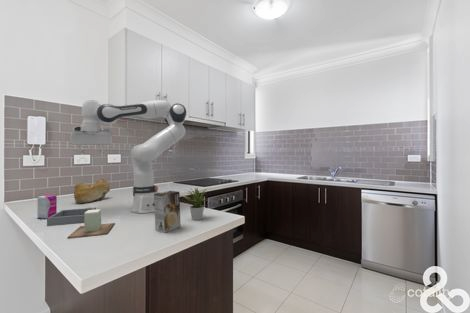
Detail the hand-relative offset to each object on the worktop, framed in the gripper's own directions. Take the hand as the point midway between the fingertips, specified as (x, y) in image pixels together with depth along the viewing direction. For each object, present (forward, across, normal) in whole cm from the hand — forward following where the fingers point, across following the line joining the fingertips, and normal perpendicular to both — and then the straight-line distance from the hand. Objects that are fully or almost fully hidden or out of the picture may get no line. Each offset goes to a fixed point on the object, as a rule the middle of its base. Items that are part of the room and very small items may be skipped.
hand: (92, 152), depth 129 cm
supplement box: (+34, +20, +5) cm, 40 cm away
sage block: (+34, -10, +37) cm, 51 cm away
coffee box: (+34, -41, +45) cm, 70 cm away
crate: (+34, +5, +14) cm, 37 cm away
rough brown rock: (+34, +12, -37) cm, 52 cm away
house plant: (+34, -56, +33) cm, 74 cm away
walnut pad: (+34, -10, +37) cm, 51 cm away
